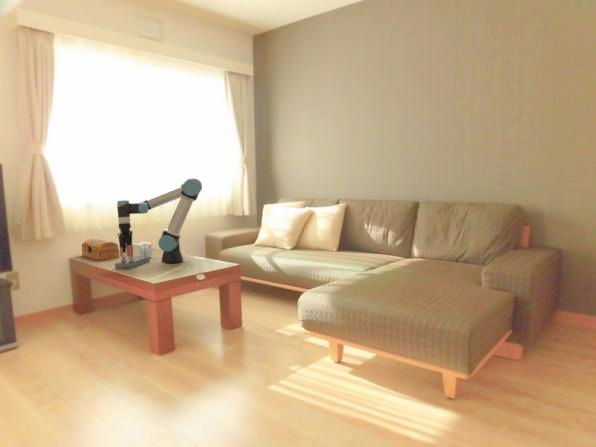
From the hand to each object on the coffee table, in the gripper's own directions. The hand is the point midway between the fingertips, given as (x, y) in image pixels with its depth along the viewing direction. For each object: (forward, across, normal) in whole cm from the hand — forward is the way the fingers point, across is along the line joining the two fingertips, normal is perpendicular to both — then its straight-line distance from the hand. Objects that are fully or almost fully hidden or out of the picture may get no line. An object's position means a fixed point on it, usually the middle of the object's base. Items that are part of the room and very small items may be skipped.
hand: (126, 256), depth 286 cm
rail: (+7, -6, 0) cm, 9 cm away
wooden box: (+8, -27, -44) cm, 52 cm away
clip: (+3, 0, 0) cm, 3 cm away
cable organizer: (+8, -30, -10) cm, 33 cm away
